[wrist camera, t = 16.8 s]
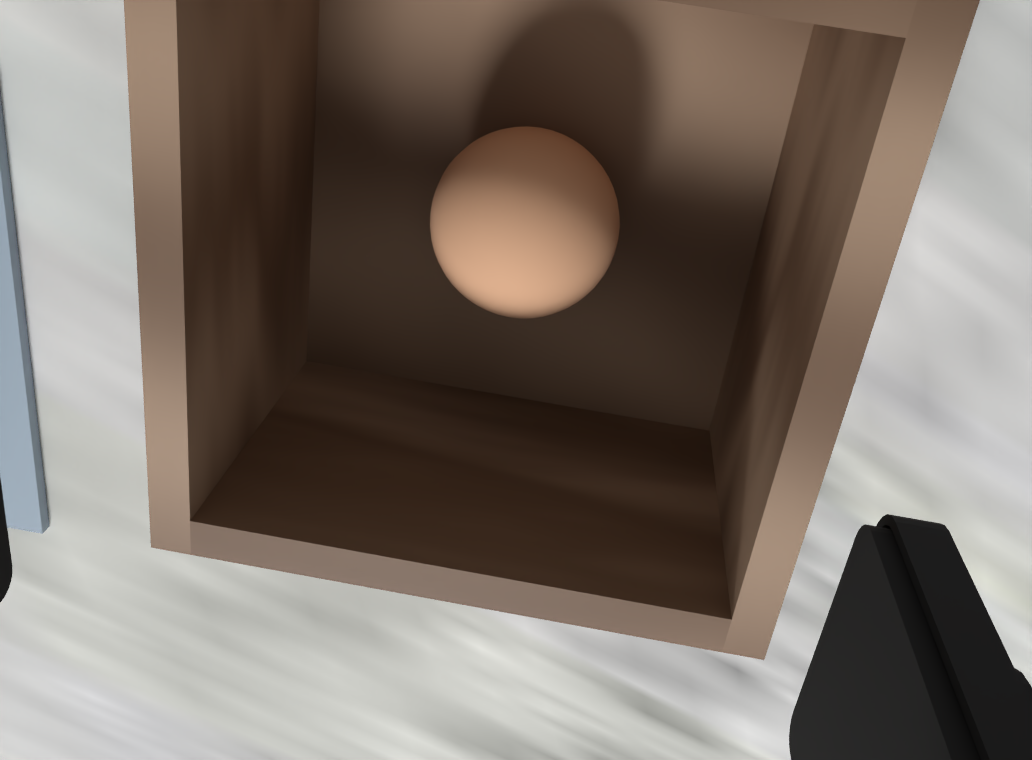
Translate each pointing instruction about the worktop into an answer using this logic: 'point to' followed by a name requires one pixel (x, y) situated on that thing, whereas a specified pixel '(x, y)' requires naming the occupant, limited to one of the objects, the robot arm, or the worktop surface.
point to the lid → (16, 380)
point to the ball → (524, 222)
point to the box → (513, 341)
